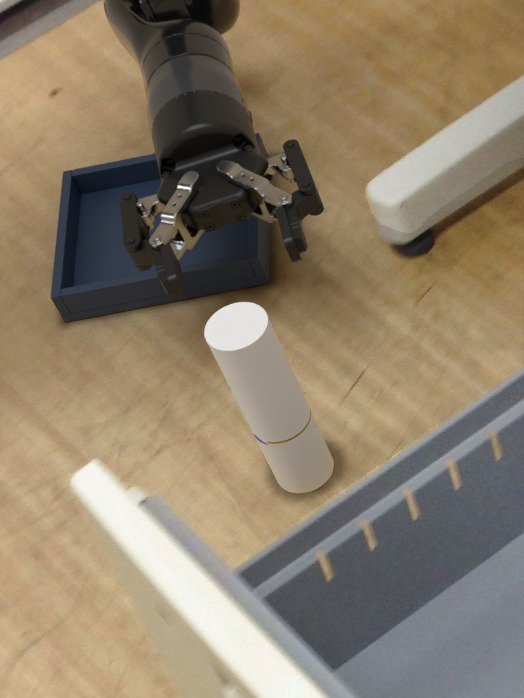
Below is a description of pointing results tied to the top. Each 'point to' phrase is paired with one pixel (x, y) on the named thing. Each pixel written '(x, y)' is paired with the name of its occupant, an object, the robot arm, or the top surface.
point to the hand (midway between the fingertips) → (236, 271)
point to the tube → (269, 396)
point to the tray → (113, 258)
